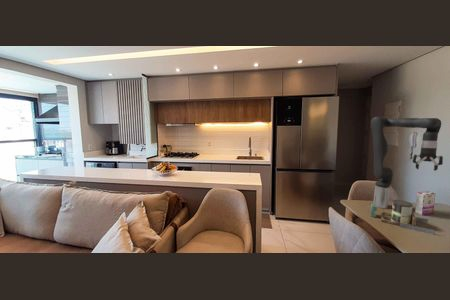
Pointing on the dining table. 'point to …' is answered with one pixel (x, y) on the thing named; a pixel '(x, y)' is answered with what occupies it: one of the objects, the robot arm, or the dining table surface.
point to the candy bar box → (425, 202)
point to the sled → (373, 214)
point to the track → (418, 227)
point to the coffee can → (401, 211)
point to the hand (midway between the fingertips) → (426, 169)
